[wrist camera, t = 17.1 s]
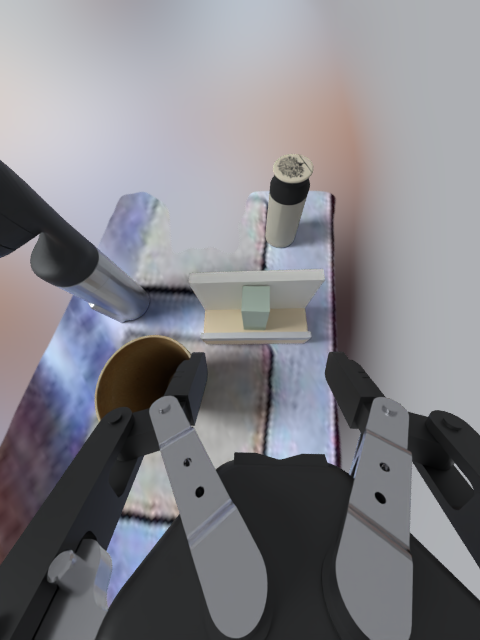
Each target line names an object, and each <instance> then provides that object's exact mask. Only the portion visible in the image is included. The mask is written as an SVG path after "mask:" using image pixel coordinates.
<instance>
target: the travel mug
mask: <svg viewBox="0 0 480 640" xmlns="http://www.w3.org/2000/svg"><path fill="white" fill-rule="evenodd" d="M273 171H274V177H273V178H272V180H271V183H270V193H269V204H268V214H267V225H266V240H267V242H268V243H269V244H270V245H272V246H274V247H279V248H282V247H286V246H289V245H290V244H291V243H292V242H293V241H294V238H295V235H296V232H297V228H298V225H299V221H300V218H301V215H302V211H303V208H304V205H305V201H306V198H307V194H308V191H309V188H310V182H309V177H310V176H311V175H312V173H313V164H312V162H311V161H310V160H309V159H308V158H307V157H305V156H302V155H298V154H288V155H285V156H282V157H280V158H279V159H278V160H277V161H276V162H275V163H274V166H273Z"/></svg>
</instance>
